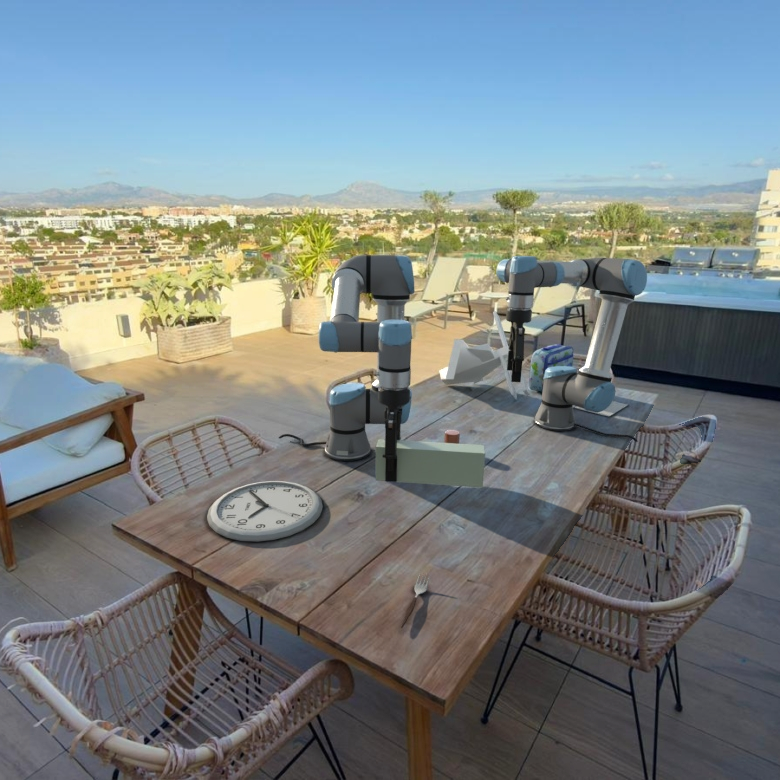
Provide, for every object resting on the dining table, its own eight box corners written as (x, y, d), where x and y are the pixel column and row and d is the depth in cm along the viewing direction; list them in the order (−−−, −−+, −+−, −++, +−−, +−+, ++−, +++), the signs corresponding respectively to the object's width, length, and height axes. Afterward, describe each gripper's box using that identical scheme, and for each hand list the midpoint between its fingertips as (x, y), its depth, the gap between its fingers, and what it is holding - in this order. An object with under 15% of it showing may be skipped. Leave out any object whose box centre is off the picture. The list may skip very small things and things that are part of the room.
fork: (394, 628, 99) (394, 619, 99) (419, 578, 113) (419, 570, 113) (407, 632, 98) (408, 623, 98) (430, 581, 113) (431, 573, 112)
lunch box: (545, 397, 238) (550, 352, 231) (524, 391, 245) (529, 348, 239) (572, 386, 255) (578, 344, 249) (552, 381, 262) (557, 340, 256)
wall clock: (320, 533, 126) (192, 537, 124) (320, 539, 127) (193, 543, 124) (324, 476, 155) (220, 479, 152) (324, 481, 155) (221, 484, 153)
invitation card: (608, 416, 214) (573, 407, 224) (608, 416, 214) (573, 408, 224) (628, 404, 229) (594, 396, 238) (628, 405, 229) (594, 397, 238)
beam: (481, 478, 130) (484, 445, 128) (482, 487, 125) (485, 453, 123) (378, 471, 133) (378, 438, 130) (375, 480, 128) (375, 446, 126)
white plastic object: (461, 429, 252) (437, 405, 227) (444, 352, 274) (420, 323, 250) (535, 404, 240) (518, 377, 215) (510, 326, 262) (492, 293, 237)
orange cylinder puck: (458, 445, 183) (459, 430, 181) (458, 451, 178) (459, 435, 177) (444, 445, 184) (445, 429, 182) (444, 450, 179) (444, 434, 177)
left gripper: (383, 375, 132) (382, 459, 139) (372, 397, 115) (371, 491, 122) (413, 376, 131) (410, 461, 138) (406, 398, 114) (403, 494, 121)
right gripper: (503, 302, 171) (498, 365, 177) (511, 314, 147) (504, 386, 153) (526, 303, 170) (520, 366, 176) (538, 315, 146) (531, 387, 153)
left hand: (392, 475), depth 130 cm, fingers closed on beam, 5 cm apart
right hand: (513, 375), depth 165 cm, fingers open, 13 cm apart
